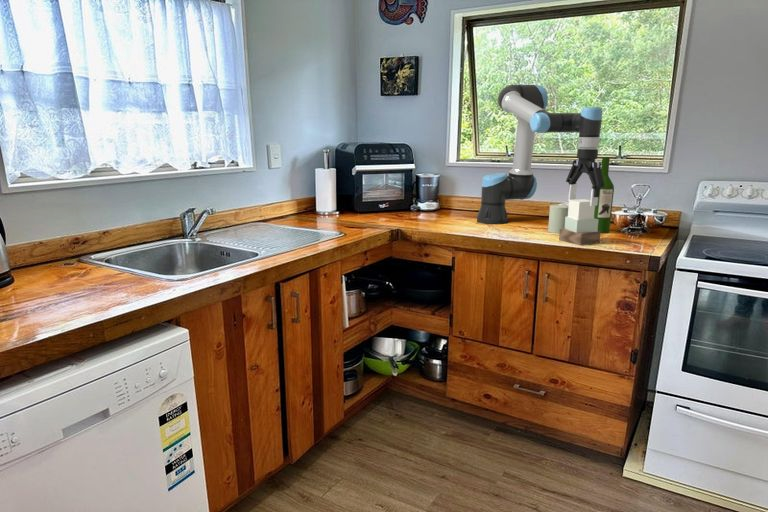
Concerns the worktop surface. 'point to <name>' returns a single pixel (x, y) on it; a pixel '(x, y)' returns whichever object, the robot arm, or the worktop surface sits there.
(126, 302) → the worktop surface
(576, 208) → the cube
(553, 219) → the can
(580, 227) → the top block
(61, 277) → the worktop surface
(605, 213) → the wine bottle
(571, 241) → the base block
